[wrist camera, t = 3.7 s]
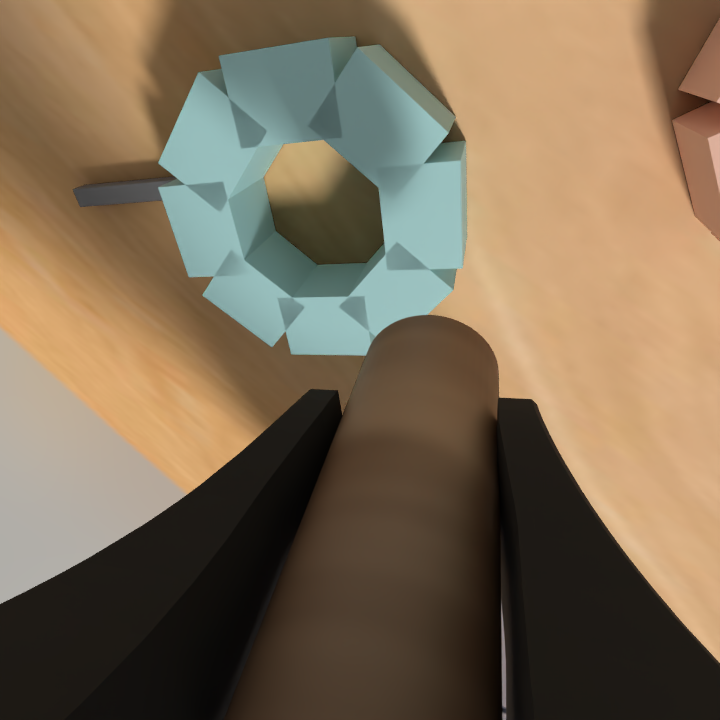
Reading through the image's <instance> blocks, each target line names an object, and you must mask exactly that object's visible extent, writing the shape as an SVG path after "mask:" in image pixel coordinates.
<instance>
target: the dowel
mask: <svg viewBox="0 0 720 720" xmlns="http://www.w3.org/2000/svg"><path fill="white" fill-rule="evenodd" d="M498 398H499V371H498V364H497V360H496V357H495V355H494V352H493V351H492V349H491V347H490V346H489V344H488V343H487V342H486V341H485V339H484V338H483V337H482V336H481V335H479V334H478V333H477V332H476V331H475V330H473V329H472V328H470V327H469V326H467V325H465V324H463V323H461V322H459V321H456V320H454V319H450V318H447V317H442V316H436V315H418V316H412V317H407V318H404V319H401V320H398V321H396V322H394V323H392V324H390V325H389V326H387V327H386V328H384V329H383V330H382V331H381V332H380V333H379V334H378V335H377V336H376V337H375V338H374V340H373V341H372V343H371V345H370V347H369V349H368V352H367V354H366V357H365V359H364V362H363V364H362V367H361V369H360V372H359V375H358V377H357V380H356V382H355V385H354V387H353V390H352V392H351V395H350V398H349V400H348V403H347V405H346V408H345V410H344V413H343V415H342V418H341V421H340V423H339V426H338V428H337V431H336V433H335V436H334V438H333V441H332V444H331V446H330V449H329V451H328V454H327V456H326V459H325V461H324V464H323V467H322V469H321V472H320V474H319V477H318V479H317V482H316V484H315V487H314V490H313V492H312V495H311V497H310V500H309V502H308V505H307V507H306V510H305V513H304V515H303V518H302V520H301V523H300V525H299V528H298V530H297V533H296V536H295V538H294V541H293V543H292V546H291V548H290V551H289V553H288V556H287V559H286V561H285V564H284V566H283V569H282V571H281V574H280V577H279V579H278V582H277V584H276V587H275V589H274V592H273V594H272V597H271V600H270V602H269V605H268V607H267V610H266V612H265V615H264V617H263V620H262V623H261V625H260V628H259V630H258V633H257V635H256V638H255V640H254V643H253V646H252V648H251V651H250V653H249V656H248V658H247V661H246V663H245V666H244V669H243V671H242V674H241V676H240V679H239V681H238V684H237V686H236V689H235V692H234V694H233V697H232V699H231V702H230V704H229V707H228V709H227V712H226V715H225V717H224V720H502V629H501V538H500V490H499V475H498V463H497V408H498Z"/></svg>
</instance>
